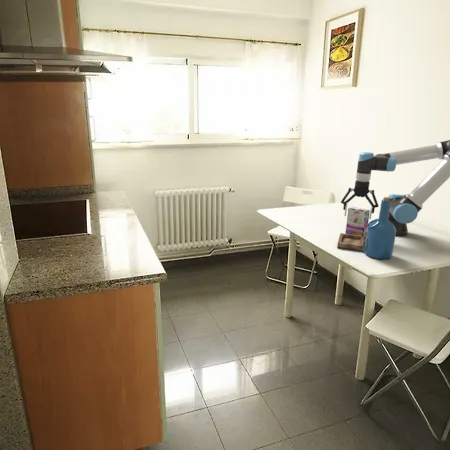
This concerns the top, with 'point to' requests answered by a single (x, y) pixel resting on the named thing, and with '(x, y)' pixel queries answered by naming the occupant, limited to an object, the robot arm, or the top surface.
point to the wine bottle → (381, 234)
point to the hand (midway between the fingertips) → (357, 217)
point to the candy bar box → (357, 221)
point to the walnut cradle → (350, 242)
